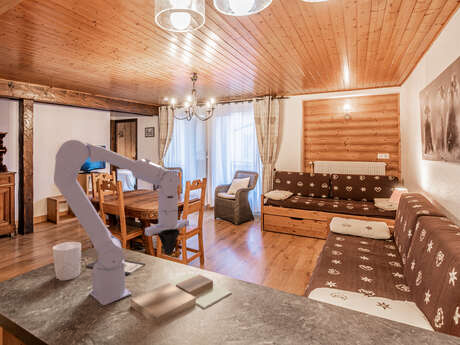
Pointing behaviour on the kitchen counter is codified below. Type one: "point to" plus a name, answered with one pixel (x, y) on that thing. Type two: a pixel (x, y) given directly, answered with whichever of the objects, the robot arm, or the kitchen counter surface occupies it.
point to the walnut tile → (195, 285)
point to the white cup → (67, 260)
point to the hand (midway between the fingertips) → (168, 253)
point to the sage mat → (205, 292)
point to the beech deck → (163, 303)
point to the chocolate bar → (129, 266)
